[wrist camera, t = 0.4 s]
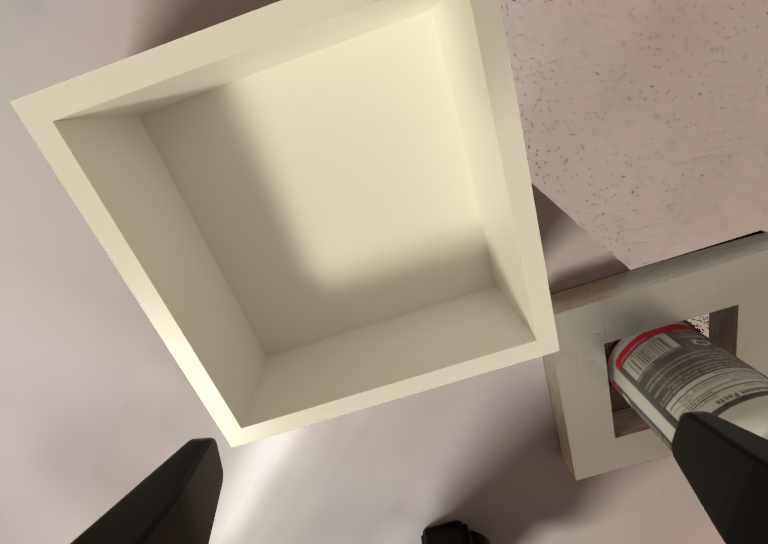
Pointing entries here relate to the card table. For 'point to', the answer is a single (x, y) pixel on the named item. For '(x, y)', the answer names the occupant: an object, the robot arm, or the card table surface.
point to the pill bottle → (686, 380)
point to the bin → (314, 203)
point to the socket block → (641, 314)
